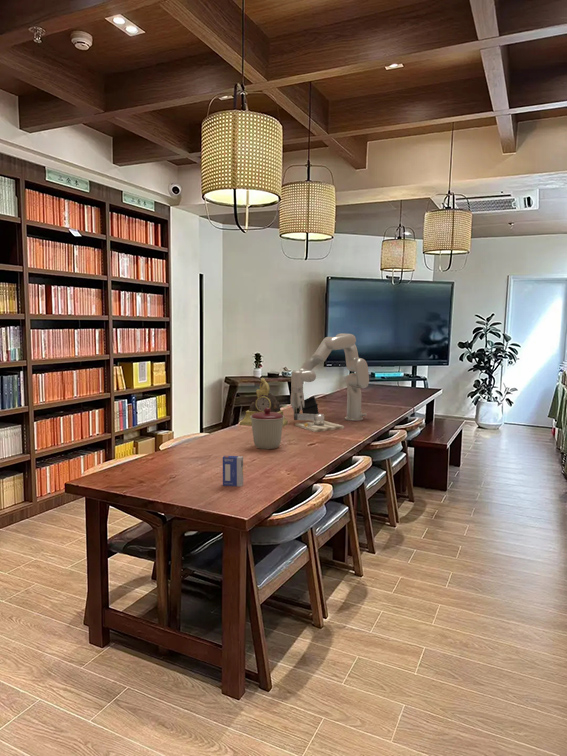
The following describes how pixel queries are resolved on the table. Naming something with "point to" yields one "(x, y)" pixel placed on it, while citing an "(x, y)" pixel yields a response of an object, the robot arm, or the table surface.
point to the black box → (310, 406)
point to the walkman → (233, 471)
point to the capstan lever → (310, 418)
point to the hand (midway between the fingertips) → (296, 418)
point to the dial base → (319, 426)
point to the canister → (267, 429)
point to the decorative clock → (263, 404)
